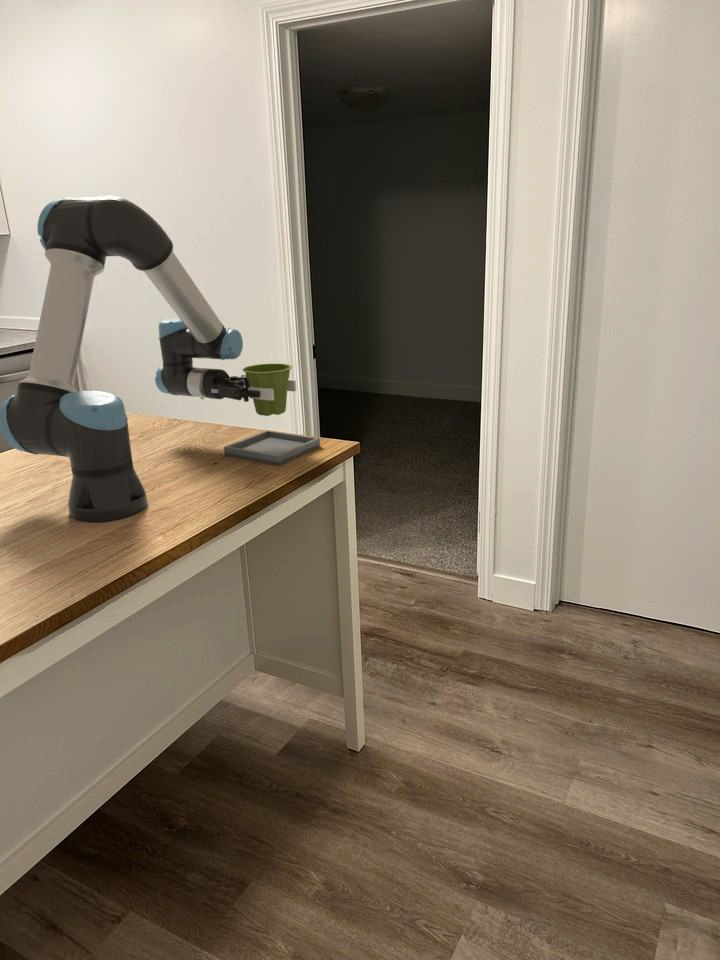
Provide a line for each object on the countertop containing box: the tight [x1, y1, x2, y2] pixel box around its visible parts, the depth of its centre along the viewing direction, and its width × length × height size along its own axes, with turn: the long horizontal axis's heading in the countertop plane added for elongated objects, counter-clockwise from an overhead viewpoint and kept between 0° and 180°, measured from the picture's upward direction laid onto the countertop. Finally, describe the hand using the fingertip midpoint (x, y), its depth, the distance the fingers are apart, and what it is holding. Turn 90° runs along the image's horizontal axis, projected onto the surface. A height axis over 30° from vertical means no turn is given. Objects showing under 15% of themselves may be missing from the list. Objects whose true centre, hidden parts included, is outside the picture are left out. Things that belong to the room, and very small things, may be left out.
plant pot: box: [242, 362, 293, 417], centre depth 176 cm, size 12×12×11 cm
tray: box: [223, 429, 321, 466], centre depth 181 cm, size 17×17×2 cm
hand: (284, 390), depth 174 cm, fingers closed on plant pot, 9 cm apart
